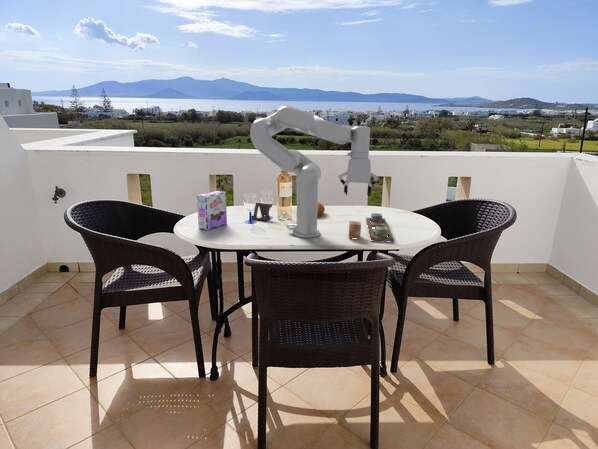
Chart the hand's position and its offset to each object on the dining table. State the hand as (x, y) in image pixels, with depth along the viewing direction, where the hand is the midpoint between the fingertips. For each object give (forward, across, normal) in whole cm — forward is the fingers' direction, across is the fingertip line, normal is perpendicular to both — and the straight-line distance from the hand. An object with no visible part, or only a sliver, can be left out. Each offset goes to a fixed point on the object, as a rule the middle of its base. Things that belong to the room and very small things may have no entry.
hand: (357, 194), depth 173 cm
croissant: (+20, -22, +38) cm, 48 cm away
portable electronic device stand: (+20, -47, +24) cm, 57 cm away
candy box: (+20, -68, +7) cm, 71 cm away
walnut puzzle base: (+20, +12, +12) cm, 26 cm away
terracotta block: (+20, 0, 0) cm, 20 cm away
